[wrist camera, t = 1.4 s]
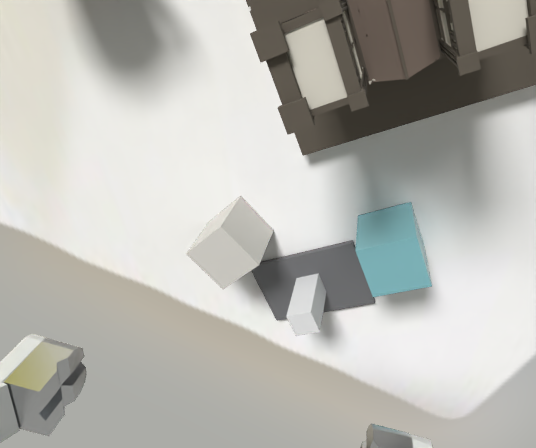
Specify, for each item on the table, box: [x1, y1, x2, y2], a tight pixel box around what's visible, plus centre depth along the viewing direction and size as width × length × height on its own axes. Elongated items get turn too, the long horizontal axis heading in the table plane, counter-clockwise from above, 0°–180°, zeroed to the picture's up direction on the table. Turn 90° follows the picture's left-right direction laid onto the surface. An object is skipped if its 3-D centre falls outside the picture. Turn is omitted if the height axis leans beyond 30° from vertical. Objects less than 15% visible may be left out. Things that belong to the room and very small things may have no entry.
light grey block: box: [186, 196, 274, 289], centre depth 43 cm, size 5×5×7 cm
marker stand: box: [251, 240, 375, 336], centre depth 44 cm, size 12×8×7 cm, turn 113°
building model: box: [246, 0, 536, 155], centre depth 25 cm, size 20×20×18 cm
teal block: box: [355, 202, 432, 297], centre depth 39 cm, size 5×5×7 cm
